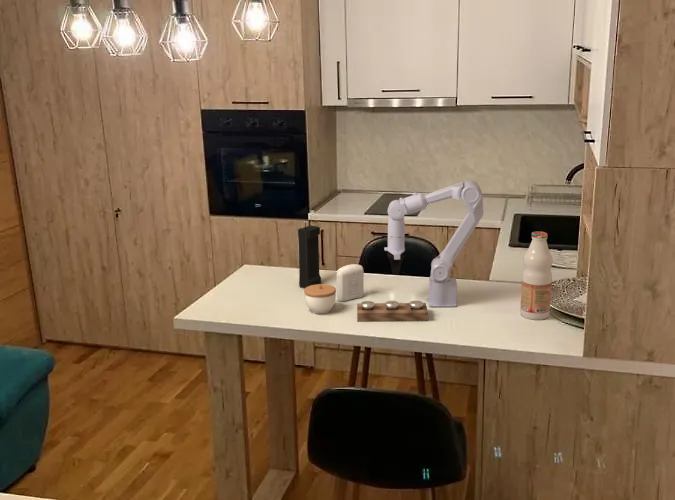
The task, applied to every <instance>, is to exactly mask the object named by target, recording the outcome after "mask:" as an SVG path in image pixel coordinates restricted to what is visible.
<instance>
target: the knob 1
mask: <svg viewBox="0 0 675 500" xmlns="http://www.w3.org/2000/svg"><path fill="white" fill-rule="evenodd" d="M360 303H361V308H363V309H364V310H372V308H374V303H375V302H374V301H372V300H364V301H362V302H360Z"/></svg>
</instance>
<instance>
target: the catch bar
mask: <svg viewBox="0 0 675 500" xmlns="http://www.w3.org/2000/svg"><path fill="white" fill-rule="evenodd" d="M361 303H362V302H360V303H359V302H358V303H356V306H357V307H356V308H357V309H356V315H357V316H356V321H357V323H358V322H359V323H371V322H372V323H373V322H376V323H377V322H381V323H383V322H385V323H386V322H390V323H391V322H429V311H428V306H427V302H423V307H422V308H420V310H412V308H411V307H410V302H398V303H399V307H398V308H396V310H388V308H386V307H385V303H386V302H381V303H379V302H378V303H376V302H374V308H372V310H364V309H363V308H361Z"/></svg>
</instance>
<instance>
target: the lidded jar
mask: <svg viewBox="0 0 675 500" xmlns="http://www.w3.org/2000/svg"><path fill="white" fill-rule="evenodd" d="M303 291H304V300H305V303H306V306H307V307H308V309H309V311H311V313H313V314H317V315H323V314H324V315H325V314H327V313H329V312H330V311H331V310H332V308H333V307H334V306H335V303H336V299H337V287H335V286H334V285H331V284H324V283H321V284H316V285H311V286H308V287H306V288H303Z"/></svg>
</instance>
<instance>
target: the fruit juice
mask: <svg viewBox="0 0 675 500" xmlns="http://www.w3.org/2000/svg"><path fill="white" fill-rule="evenodd" d="M548 237H549V236H548V233H547V232H545V231H533V232H531V239H532V240H531V242H530V245H529V246H528V249H527V251H526V252H525V254H524V256H523V265H524V269H523V271H522V275H521V289H520V290H521V291H520V309H519V312H520V315H521V316H522V317H523V318H524V319H525V318H526V319H528V320H534V321H541V320H546V319H548V318H549V317H550V313H551V299H552V283H553V273H552V266H553V261H554V259H553V255H552V254H551V252H550V249H549V246H548V241H547V240H548Z"/></svg>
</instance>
